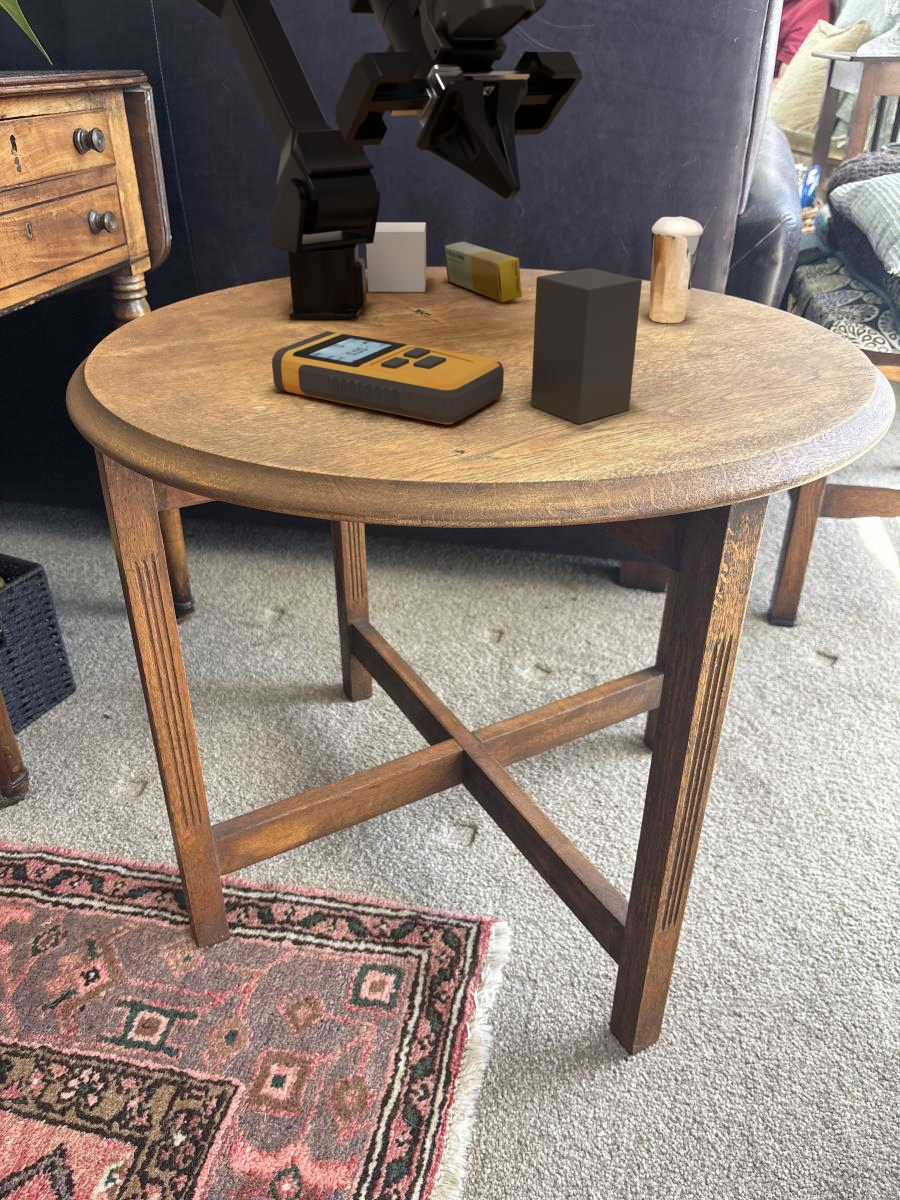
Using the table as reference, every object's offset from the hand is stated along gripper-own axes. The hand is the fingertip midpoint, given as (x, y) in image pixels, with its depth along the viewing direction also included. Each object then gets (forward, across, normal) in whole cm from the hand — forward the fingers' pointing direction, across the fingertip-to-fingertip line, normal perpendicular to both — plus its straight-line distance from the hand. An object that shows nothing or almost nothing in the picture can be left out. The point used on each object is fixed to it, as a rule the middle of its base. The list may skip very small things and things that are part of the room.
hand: (513, 194), depth 66 cm
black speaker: (+15, 0, +4) cm, 16 cm away
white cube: (-14, +12, +33) cm, 38 cm away
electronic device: (+8, -9, +11) cm, 17 cm away
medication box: (-8, +17, +27) cm, 33 cm away
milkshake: (+6, +24, +13) cm, 28 cm away
